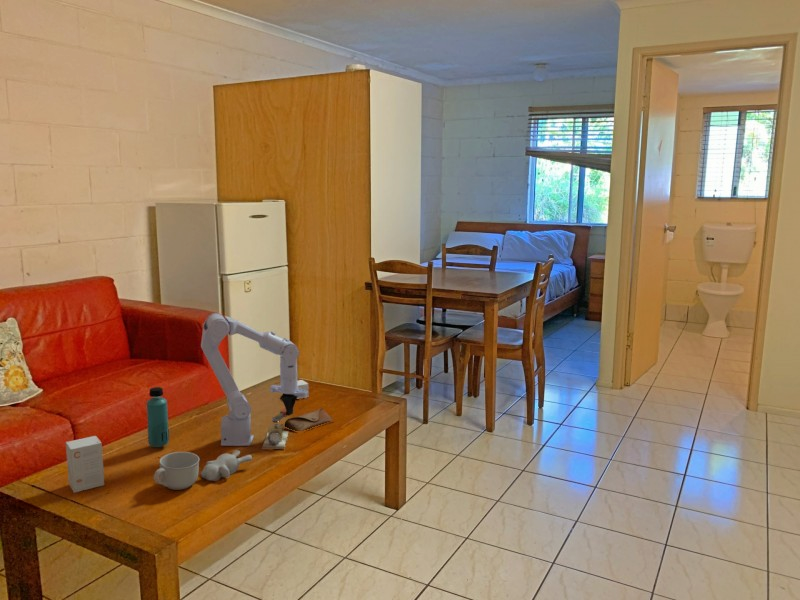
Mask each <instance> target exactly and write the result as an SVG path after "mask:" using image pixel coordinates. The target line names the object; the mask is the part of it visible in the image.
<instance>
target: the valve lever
mask: <svg viewBox="0 0 800 600" xmlns="http://www.w3.org/2000/svg"><path fill="white" fill-rule="evenodd" d="M286 417H288V415H287V412H286V408H283V409H281V410H280V412H279V413H278V414H277V415H275V416H273V417H272V419H271V422H272V423H273V424H278V423H279V422H280V421H281V420H282V419H283V418H286Z"/></svg>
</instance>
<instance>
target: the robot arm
mask: <svg viewBox="0 0 800 600" xmlns="http://www.w3.org/2000/svg"><path fill="white" fill-rule="evenodd" d="M201 333H202V334H201V342H200V348H201V350H202V351H203V354H204V356H205V357H206V360H207V361H208V363H209V366H210V368H211V369H212V371H213V373H214V375H215V377H216V379H217V381H218V382H219V385H220V386H221V389H222V391H223V392H224V394H225V396H226V398H227V399H226V400H227V402H226V404H227V406H228V408H229V412H228V414H227V415H223V416H222V417H221V421H220V446H224V447H226V446H228V447H229V446H231V447H233V446H234V447H241V446H242V447H244V446H245V447H246V446H248V447H249V446H251V444H252V441H253V440H254V437H255V436H254V435H253V434H252V433H251V432H252V430H251V429H252V425H251V424H252V423H251V419H252V418H251V413H252V406H251V403H249V402H248V401H249V400H247V397H246V396H245V395H244V394H243V393H242V392H241V391H240V389H239V387H238V385H237V383H236V381H235V380H234V378H233V376H232V373H231V372H230V369H229V368H228V366H227V364H226V361H225V360H224V358H223V356H222V354H221V352H220V350H219V346H220V344H221V342H222V340H224V338H226V336H227V335H229V336H233V335H236V334H238V335H240V336H244V337H245V338H248V339H250V340H253V341H255V342H257V343H258V346H259V347H260V348H261V349H263V350H266V351H268V352H270V353H272V354H274V355H277V356H280V358H279V359H280V363H279V368H280V369H279V371H280V372H279V375H280V376H279V377H280V378H279V379H280V385H278V384H272V385H270V387H269V389H270V390H269V392H271V393H280V394H281V395H280V400H281V401H282V403H283V405H284V407H285V408H286V412H287V415H288V416H291V415H293V414H294V406H295V404H296V401H297V400H296V399H297V398H298V396H299V397H303V398H305V399H308V398H307V397H308V391H305V390H302V389H300V388H298V384H297V381H298V358H299V355H300V351H299V347H298V346H297V345H296V344H295V343H293V342H292V341H291V340H290V339H288V338H286V337H284V338H282V337H280V336H278V335H276V332H274V331H266V332H260V331H259V330H256V329H255V328H253V327H251V326H249V325H247V324H245V323H243V322H241V321H239V320H238V319H235V318H232V317H230V316H227V315H224V316H223V315H222V314H221V313H218V312H213V313H211V314H209V315H208V316H207V317H206V319H205V321H204V323H203V324H202V332H201ZM285 408H284V409H285ZM288 416H287V417H288Z"/></svg>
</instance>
